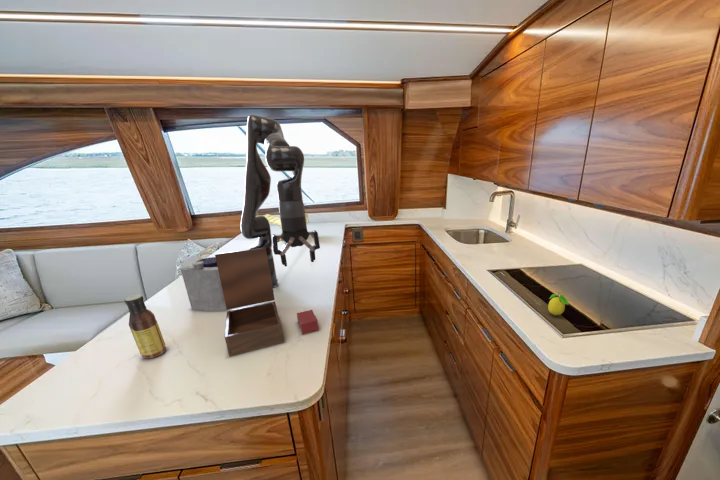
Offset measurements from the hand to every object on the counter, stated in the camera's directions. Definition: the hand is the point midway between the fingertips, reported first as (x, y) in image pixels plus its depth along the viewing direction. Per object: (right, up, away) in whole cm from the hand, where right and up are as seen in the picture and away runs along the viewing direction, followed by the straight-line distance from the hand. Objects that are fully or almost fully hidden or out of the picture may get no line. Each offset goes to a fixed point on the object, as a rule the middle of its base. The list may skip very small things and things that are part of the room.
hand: (299, 263), depth 98 cm
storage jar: (-51, -13, +38) cm, 65 cm away
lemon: (+92, -20, +13) cm, 95 cm away
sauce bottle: (-43, -28, -6) cm, 52 cm away
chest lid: (-21, -5, +7) cm, 23 cm away
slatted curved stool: (-53, +21, +132) cm, 144 cm away
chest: (-16, -24, +4) cm, 29 cm away
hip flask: (-44, -18, +22) cm, 52 cm away
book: (0, -23, +8) cm, 24 cm away
